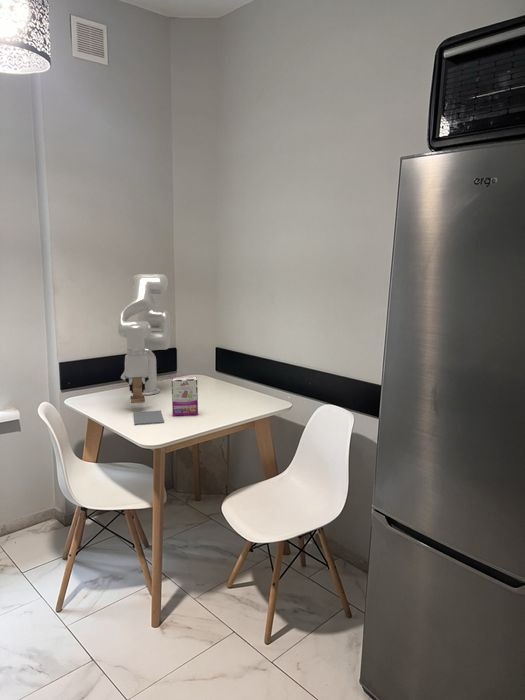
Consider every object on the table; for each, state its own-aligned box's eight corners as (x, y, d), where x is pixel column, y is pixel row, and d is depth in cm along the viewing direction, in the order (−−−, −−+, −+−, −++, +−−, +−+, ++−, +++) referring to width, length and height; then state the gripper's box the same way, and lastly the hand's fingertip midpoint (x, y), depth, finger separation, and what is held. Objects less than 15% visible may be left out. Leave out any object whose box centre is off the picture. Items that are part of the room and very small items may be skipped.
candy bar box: (197, 411, 229) (197, 376, 226) (198, 415, 224) (197, 379, 221) (172, 413, 227) (171, 377, 224) (172, 416, 222) (171, 380, 219)
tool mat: (133, 413, 225) (133, 412, 225) (160, 411, 228) (160, 410, 228) (134, 425, 210) (134, 423, 210) (164, 423, 213) (164, 421, 213)
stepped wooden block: (130, 399, 232) (129, 373, 229) (144, 398, 233) (143, 373, 230) (131, 403, 226) (130, 377, 223) (144, 402, 228) (144, 376, 225)
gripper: (154, 349, 230) (155, 388, 234) (116, 351, 226) (118, 390, 230) (155, 353, 223) (157, 393, 227) (116, 355, 219) (118, 395, 223)
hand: (137, 391), depth 229 cm, fingers closed on stepped wooden block, 4 cm apart
